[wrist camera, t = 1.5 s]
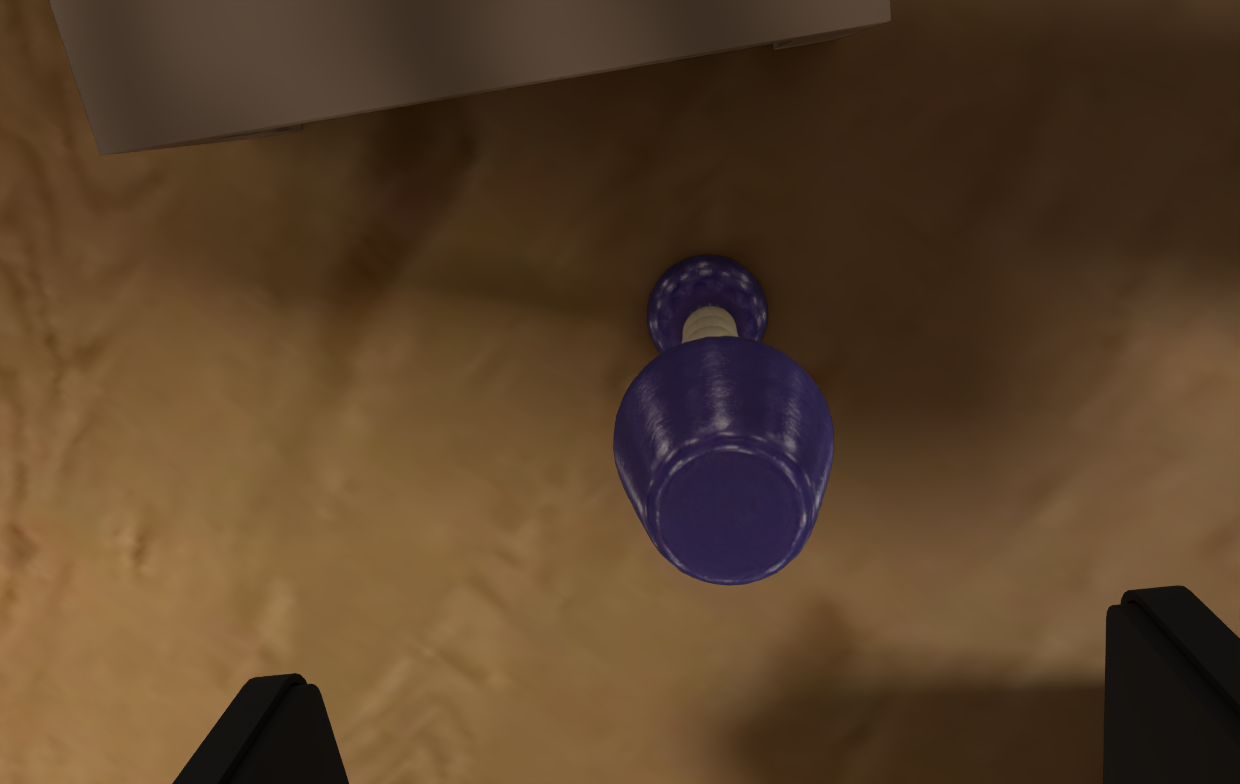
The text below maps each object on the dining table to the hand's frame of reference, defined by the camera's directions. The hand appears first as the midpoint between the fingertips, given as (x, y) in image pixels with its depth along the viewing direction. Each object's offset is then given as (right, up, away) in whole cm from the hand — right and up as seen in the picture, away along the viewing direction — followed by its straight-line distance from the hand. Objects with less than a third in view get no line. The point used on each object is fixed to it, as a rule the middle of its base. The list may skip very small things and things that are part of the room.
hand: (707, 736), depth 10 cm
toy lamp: (+2, +7, +21) cm, 22 cm away
